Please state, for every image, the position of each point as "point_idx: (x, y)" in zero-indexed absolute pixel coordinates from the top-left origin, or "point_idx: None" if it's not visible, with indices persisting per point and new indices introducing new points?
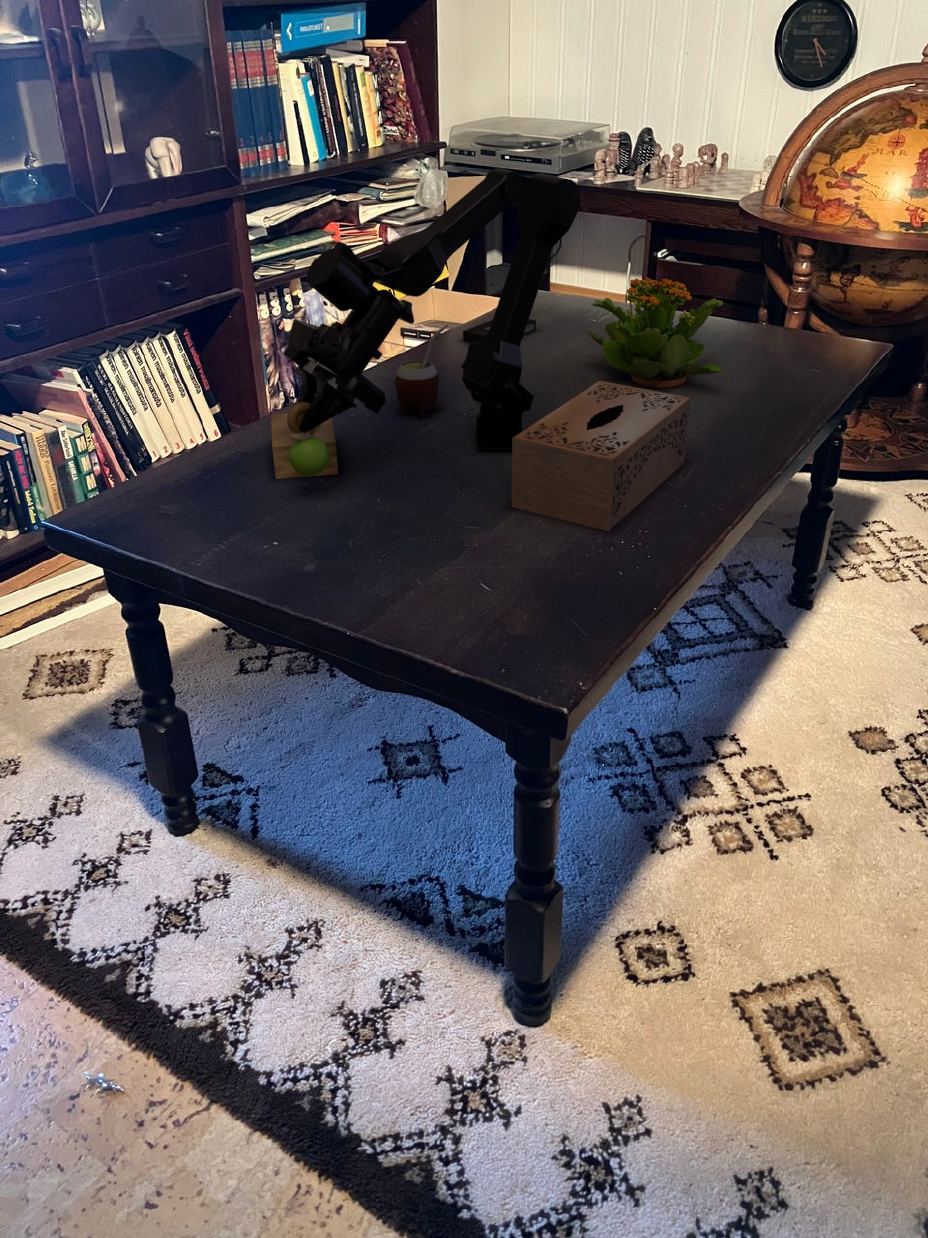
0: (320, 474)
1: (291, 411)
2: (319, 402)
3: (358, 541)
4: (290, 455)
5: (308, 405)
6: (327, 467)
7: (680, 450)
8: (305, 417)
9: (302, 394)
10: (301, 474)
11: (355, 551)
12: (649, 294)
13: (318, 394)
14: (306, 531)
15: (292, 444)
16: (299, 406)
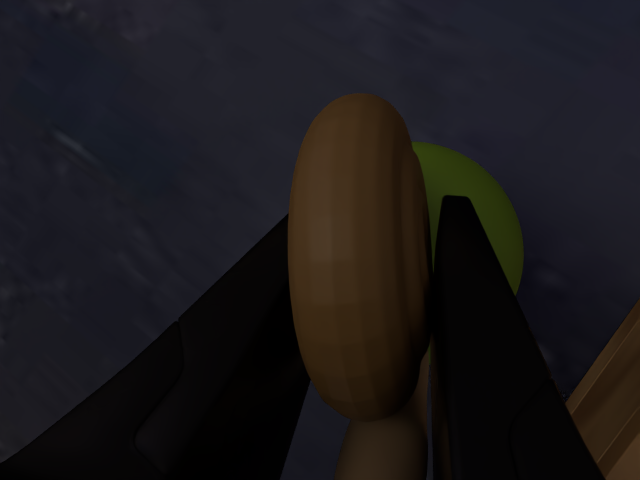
0: (584, 377)
1: (320, 124)
2: (96, 397)
3: (69, 170)
4: (421, 143)
5: (301, 345)
6: (572, 414)
7: None
8: (276, 245)
9: (518, 447)
10: (633, 312)
11: (30, 130)
12: None
13: (99, 475)
14: (210, 76)
15: (451, 178)
16: (289, 225)
